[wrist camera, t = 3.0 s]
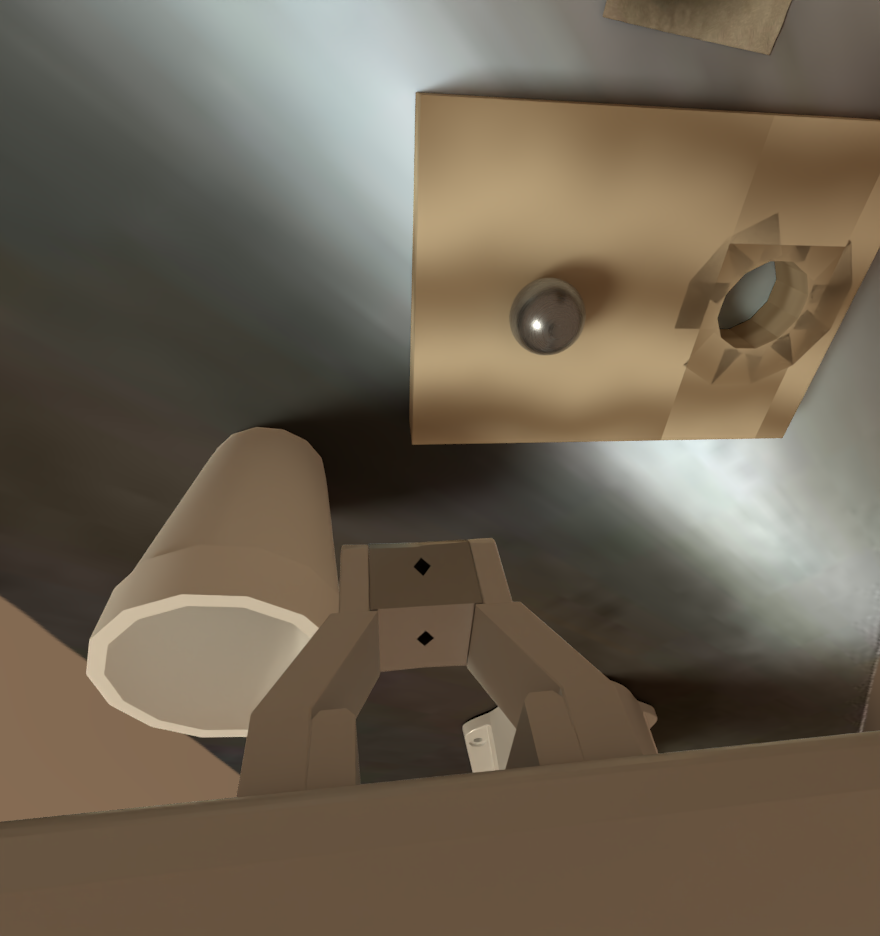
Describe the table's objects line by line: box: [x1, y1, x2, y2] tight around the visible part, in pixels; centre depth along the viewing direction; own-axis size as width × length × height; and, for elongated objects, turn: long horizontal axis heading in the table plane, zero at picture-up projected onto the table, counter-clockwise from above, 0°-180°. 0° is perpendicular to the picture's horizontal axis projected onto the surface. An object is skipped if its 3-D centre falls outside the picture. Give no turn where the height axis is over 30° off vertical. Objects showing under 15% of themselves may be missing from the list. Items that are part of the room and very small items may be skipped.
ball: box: [509, 278, 586, 356], centre depth 23 cm, size 3×3×3 cm
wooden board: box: [409, 92, 880, 445], centre depth 26 cm, size 15×21×2 cm
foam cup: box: [86, 427, 339, 737], centre depth 26 cm, size 10×9×13 cm
